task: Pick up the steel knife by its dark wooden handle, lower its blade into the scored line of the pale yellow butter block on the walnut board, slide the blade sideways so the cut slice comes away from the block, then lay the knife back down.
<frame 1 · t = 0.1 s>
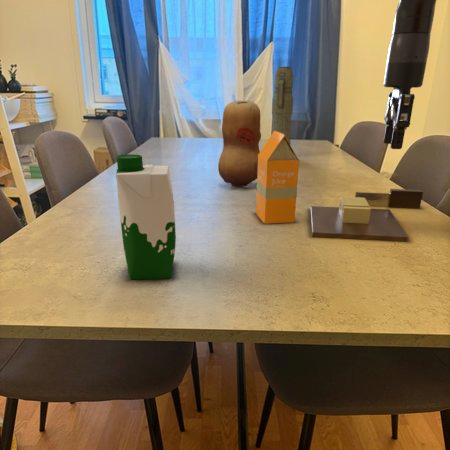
hand: (392, 146, 94), 18 cm above the table, tool pointing down, fingers open, 8 cm apart
knife: (403, 206, 117), on the table
milk carton: (152, 272, 78), on the table
orange juice: (274, 218, 108), on the table
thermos: (279, 156, 192), on the table
butternut squash: (239, 186, 139), on the table
board: (353, 224, 103), on the table
butter block: (352, 215, 106), point 1 cm above the table, touching board
butter slice: (355, 222, 101), point 1 cm above the table, touching board
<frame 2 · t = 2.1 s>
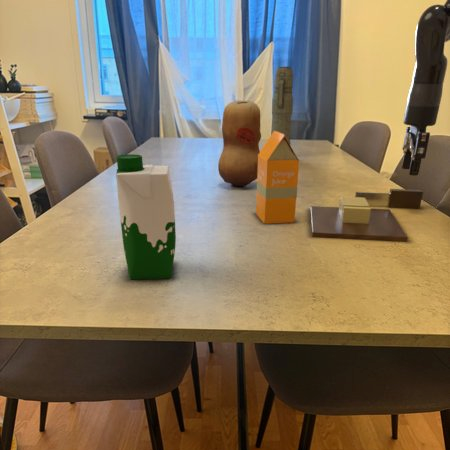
hand: (409, 171, 113), 9 cm above the table, tool pointing down, fingers open, 8 cm apart
nothing on the table moved.
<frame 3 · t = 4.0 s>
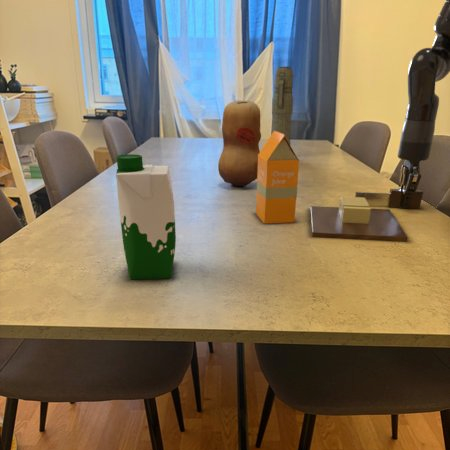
hand: (403, 206, 117), 0 cm above the table, tool pointing down, fingers closed on knife, 2 cm apart
knife: (403, 206, 117), on the table, touching gripper
everything else where it was.
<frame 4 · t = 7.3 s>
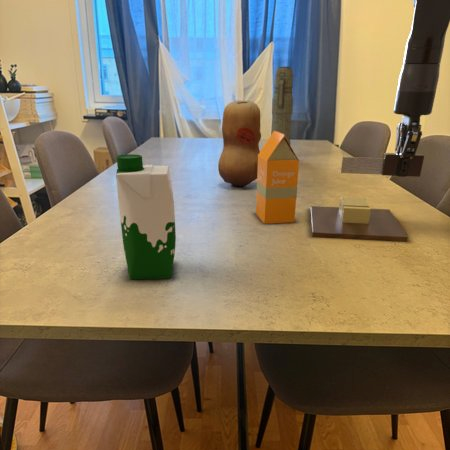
hand: (400, 174, 97), 12 cm above the table, tool pointing down, fingers closed on knife
knife: (400, 175, 97), point 12 cm above the table, touching gripper
everything else where it was.
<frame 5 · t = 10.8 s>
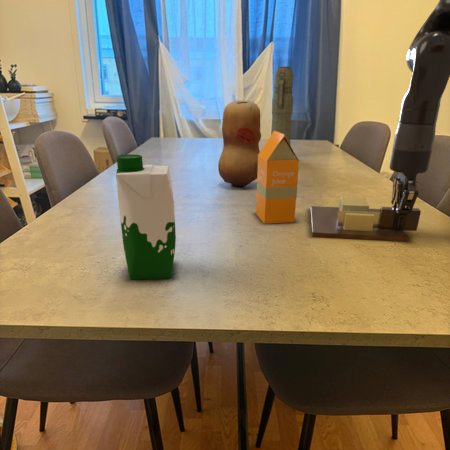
hand: (396, 228, 96), 1 cm above the table, tool pointing down, fingers closed on knife, 2 cm apart
knife: (396, 228, 96), point 1 cm above the table, touching butter slice, gripper
butter slice: (357, 229, 96), point 1 cm above the table, touching board, knife
everything else where it was.
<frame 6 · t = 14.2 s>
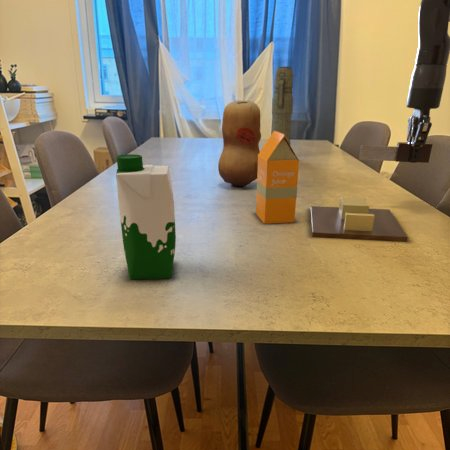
hand: (411, 161, 111), 12 cm above the table, tool pointing down, fingers closed on knife
knife: (411, 161, 111), point 12 cm above the table, touching gripper
butter slice: (357, 229, 96), point 1 cm above the table, touching board
everything else where it was.
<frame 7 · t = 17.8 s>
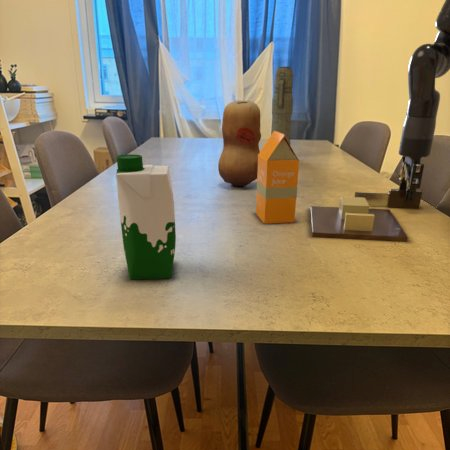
hand: (405, 199, 116), 2 cm above the table, tool pointing down, fingers open, 8 cm apart
knife: (402, 206, 117), on the table
everything else where it was.
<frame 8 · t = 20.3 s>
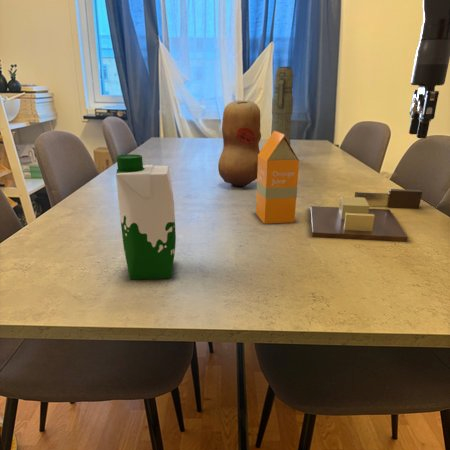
hand: (417, 136, 109), 18 cm above the table, tool pointing down, fingers open, 8 cm apart
nothing on the table moved.
at the end: butter slice moved 5.6 cm from its start; butter block moved 0.0 cm from its start; the gripper is holding nothing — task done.
